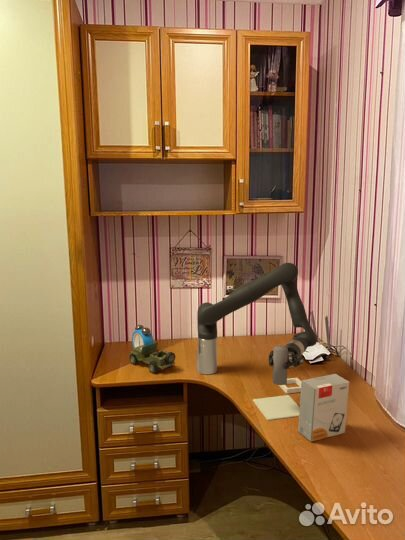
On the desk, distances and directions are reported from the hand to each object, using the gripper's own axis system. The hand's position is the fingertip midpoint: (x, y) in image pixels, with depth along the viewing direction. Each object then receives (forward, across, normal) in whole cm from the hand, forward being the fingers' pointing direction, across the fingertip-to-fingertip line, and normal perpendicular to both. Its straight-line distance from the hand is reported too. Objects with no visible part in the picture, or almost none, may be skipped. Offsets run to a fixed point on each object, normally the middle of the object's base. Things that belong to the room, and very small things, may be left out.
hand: (277, 365), depth 162 cm
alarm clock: (-19, -84, +19) cm, 88 cm away
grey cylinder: (-3, 0, +8) cm, 8 cm away
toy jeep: (-9, -69, +19) cm, 72 cm away
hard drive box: (+6, +20, +19) cm, 28 cm away
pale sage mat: (-2, 0, +19) cm, 19 cm away
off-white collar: (-22, -2, +19) cm, 29 cm away
